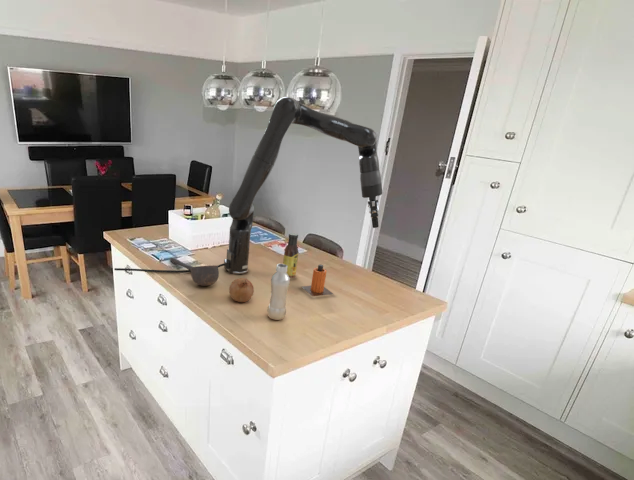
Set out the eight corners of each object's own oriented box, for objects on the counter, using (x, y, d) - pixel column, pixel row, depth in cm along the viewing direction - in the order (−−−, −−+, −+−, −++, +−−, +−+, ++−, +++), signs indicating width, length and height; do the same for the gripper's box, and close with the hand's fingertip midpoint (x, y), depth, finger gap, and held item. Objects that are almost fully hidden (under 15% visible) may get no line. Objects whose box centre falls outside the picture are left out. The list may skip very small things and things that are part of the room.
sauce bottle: (294, 280, 184) (300, 237, 175) (280, 278, 185) (285, 235, 176) (296, 275, 190) (301, 233, 181) (282, 273, 191) (287, 231, 182)
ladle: (200, 288, 163) (199, 262, 161) (159, 279, 194) (158, 258, 192) (225, 286, 170) (225, 261, 168) (181, 278, 200) (181, 257, 199)
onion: (244, 311, 159) (249, 294, 152) (223, 300, 161) (226, 283, 153) (255, 295, 165) (260, 278, 158) (234, 285, 167) (238, 268, 159)
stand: (312, 298, 168) (316, 270, 163) (300, 288, 176) (304, 261, 171) (333, 296, 171) (338, 268, 166) (320, 286, 180) (324, 260, 175)
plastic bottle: (265, 313, 152) (270, 261, 144) (283, 314, 153) (290, 262, 145) (267, 321, 146) (273, 268, 138) (286, 322, 147) (293, 269, 139)
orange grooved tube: (314, 293, 170) (317, 272, 166) (308, 288, 174) (311, 268, 171) (325, 292, 172) (329, 271, 168) (319, 287, 176) (322, 267, 173)
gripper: (360, 183, 166) (365, 223, 171) (360, 187, 153) (365, 230, 158) (380, 180, 164) (384, 221, 169) (382, 183, 151) (386, 227, 156)
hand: (375, 225), depth 164 cm, fingers open, 8 cm apart
